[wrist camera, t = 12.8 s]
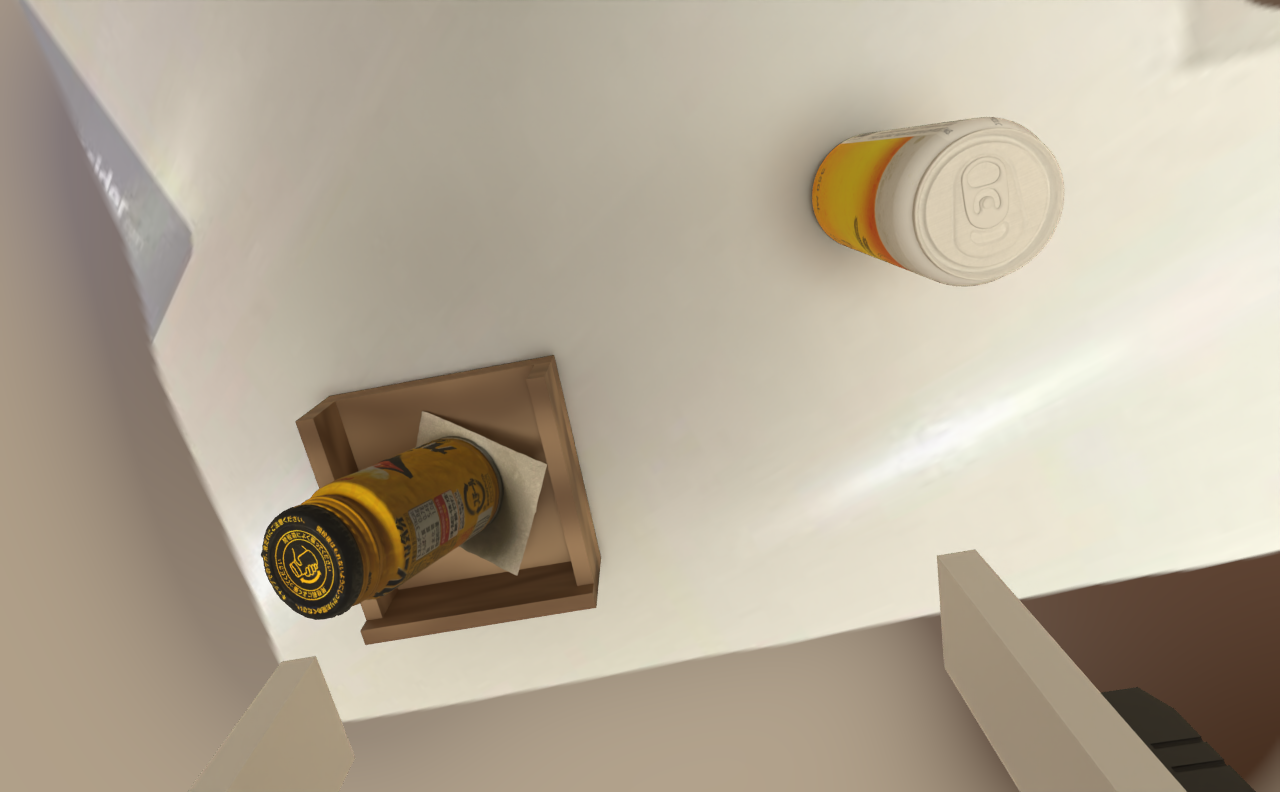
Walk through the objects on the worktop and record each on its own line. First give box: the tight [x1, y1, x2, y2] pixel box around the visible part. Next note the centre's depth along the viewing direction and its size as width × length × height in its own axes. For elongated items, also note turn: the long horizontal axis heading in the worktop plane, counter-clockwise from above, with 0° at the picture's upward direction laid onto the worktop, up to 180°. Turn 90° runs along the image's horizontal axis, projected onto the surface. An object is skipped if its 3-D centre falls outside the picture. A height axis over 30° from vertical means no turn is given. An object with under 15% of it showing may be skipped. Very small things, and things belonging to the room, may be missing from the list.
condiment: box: [261, 411, 547, 620], centre depth 36 cm, size 7×8×12 cm
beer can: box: [812, 117, 1064, 286], centre depth 32 cm, size 6×6×15 cm
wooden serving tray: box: [295, 355, 601, 645], centre depth 42 cm, size 14×14×6 cm
